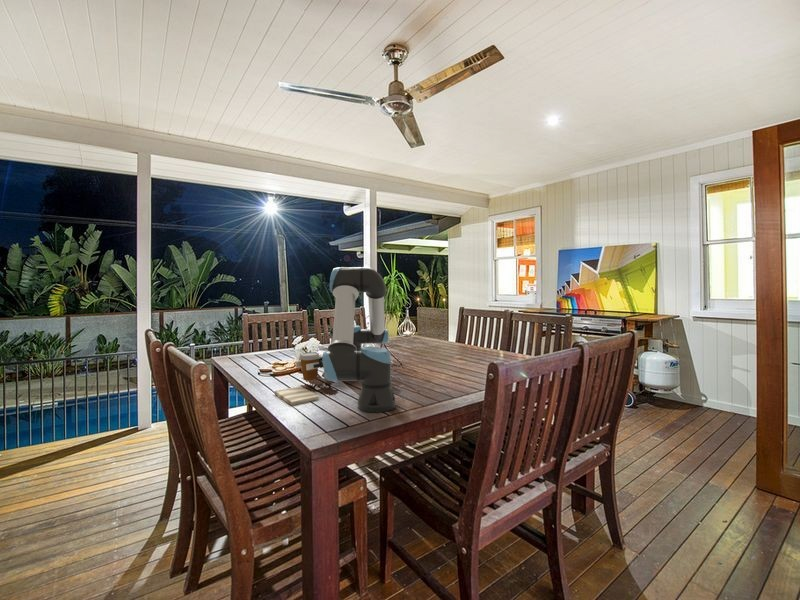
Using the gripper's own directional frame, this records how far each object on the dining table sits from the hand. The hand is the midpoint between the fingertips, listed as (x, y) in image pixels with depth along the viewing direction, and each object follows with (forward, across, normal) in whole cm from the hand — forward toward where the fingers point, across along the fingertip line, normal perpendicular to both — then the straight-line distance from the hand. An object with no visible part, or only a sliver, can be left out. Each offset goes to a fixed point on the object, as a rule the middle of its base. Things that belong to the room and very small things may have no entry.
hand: (301, 365), depth 177 cm
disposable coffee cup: (-5, 0, -7) cm, 9 cm away
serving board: (+9, -10, -10) cm, 17 cm away
